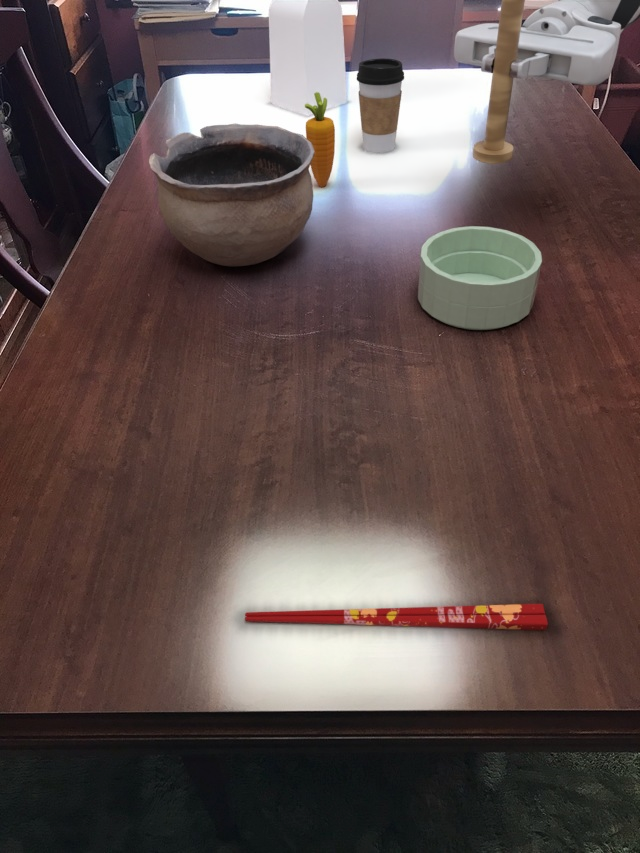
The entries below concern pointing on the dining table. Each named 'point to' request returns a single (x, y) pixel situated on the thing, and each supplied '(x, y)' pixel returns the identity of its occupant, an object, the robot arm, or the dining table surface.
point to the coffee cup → (379, 102)
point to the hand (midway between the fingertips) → (501, 68)
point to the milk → (306, 54)
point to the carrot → (321, 141)
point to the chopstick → (421, 616)
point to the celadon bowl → (478, 277)
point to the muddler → (501, 86)
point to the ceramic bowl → (235, 191)
